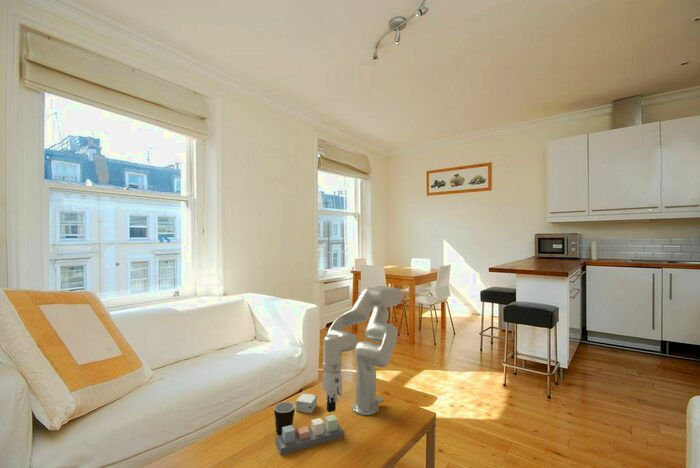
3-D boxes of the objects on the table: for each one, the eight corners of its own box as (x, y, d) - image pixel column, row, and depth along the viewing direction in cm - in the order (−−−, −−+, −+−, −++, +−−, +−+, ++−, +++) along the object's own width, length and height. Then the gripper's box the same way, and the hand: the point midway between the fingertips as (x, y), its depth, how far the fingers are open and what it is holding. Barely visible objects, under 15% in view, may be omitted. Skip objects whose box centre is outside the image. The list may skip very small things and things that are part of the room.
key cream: (320, 428, 133) (320, 417, 133) (323, 434, 129) (324, 422, 129) (310, 431, 131) (311, 420, 131) (314, 436, 127) (314, 425, 128)
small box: (295, 411, 150) (295, 400, 150) (302, 403, 158) (302, 392, 158) (311, 414, 148) (311, 402, 148) (317, 405, 156) (317, 395, 156)
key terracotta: (306, 437, 130) (306, 425, 130) (309, 442, 127) (309, 431, 127) (296, 439, 128) (296, 428, 128) (299, 445, 125) (300, 433, 125)
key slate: (291, 436, 127) (292, 424, 127) (294, 442, 124) (295, 430, 124) (281, 438, 126) (282, 427, 126) (284, 444, 122) (284, 432, 122)
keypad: (335, 426, 138) (335, 420, 138) (343, 437, 131) (343, 431, 131) (275, 442, 126) (275, 436, 127) (280, 455, 119) (280, 448, 119)
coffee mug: (289, 438, 129) (290, 413, 130) (269, 435, 131) (270, 410, 131) (300, 422, 141) (300, 399, 141) (281, 420, 142) (282, 397, 143)
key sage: (333, 425, 136) (333, 414, 136) (337, 430, 132) (337, 419, 132) (324, 427, 134) (324, 416, 134) (328, 432, 130) (328, 421, 130)
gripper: (348, 371, 128) (347, 417, 128) (333, 358, 142) (332, 400, 141) (330, 374, 125) (329, 422, 125) (317, 361, 138) (316, 404, 138)
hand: (331, 410), depth 133 cm, fingers closed
